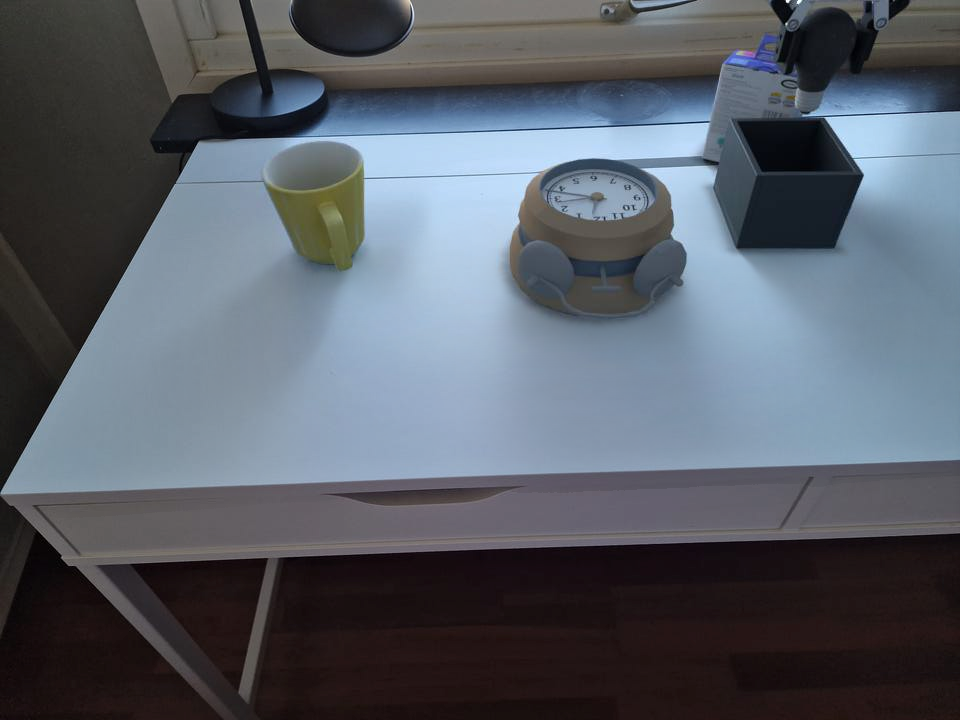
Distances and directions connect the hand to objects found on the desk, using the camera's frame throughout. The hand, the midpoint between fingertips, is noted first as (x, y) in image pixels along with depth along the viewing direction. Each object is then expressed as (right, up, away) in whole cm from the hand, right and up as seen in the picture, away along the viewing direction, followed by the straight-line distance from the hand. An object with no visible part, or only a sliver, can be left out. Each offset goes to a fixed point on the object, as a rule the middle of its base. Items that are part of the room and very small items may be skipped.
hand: (817, 67), depth 66 cm
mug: (-49, -17, +9) cm, 53 cm away
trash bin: (+1, -12, +12) cm, 17 cm away
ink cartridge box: (+1, -3, +21) cm, 21 cm away
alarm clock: (-21, -20, +5) cm, 30 cm away
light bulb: (+1, -3, +4) cm, 5 cm away
